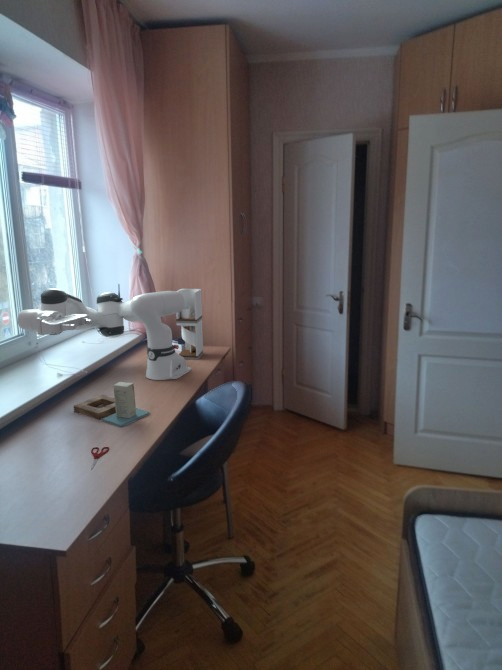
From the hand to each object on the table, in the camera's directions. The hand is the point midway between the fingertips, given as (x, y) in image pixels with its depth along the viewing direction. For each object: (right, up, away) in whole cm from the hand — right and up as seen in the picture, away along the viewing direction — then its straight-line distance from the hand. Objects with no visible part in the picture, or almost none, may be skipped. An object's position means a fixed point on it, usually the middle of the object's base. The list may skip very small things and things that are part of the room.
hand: (82, 325), depth 183 cm
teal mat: (+18, -34, -5) cm, 39 cm away
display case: (+32, -15, +73) cm, 81 cm away
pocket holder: (+6, -32, +2) cm, 33 cm away
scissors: (+16, -42, -35) cm, 57 cm away
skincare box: (+18, -34, -5) cm, 38 cm away
